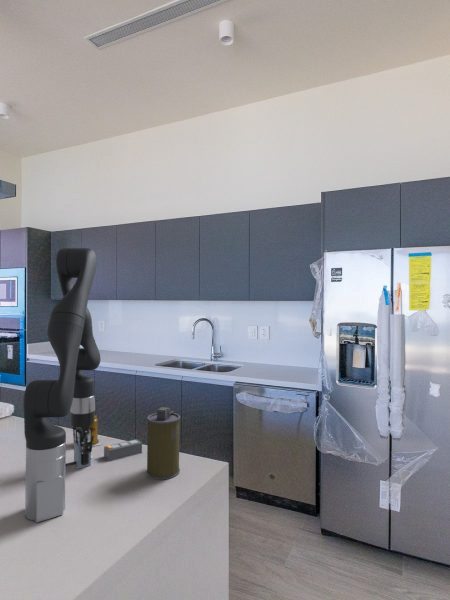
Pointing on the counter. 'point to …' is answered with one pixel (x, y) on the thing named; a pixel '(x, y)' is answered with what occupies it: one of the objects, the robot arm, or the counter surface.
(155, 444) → the canister
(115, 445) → the strip
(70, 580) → the counter surface
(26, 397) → the robot arm
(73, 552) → the counter surface
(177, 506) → the counter surface
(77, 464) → the block
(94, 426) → the condiment
